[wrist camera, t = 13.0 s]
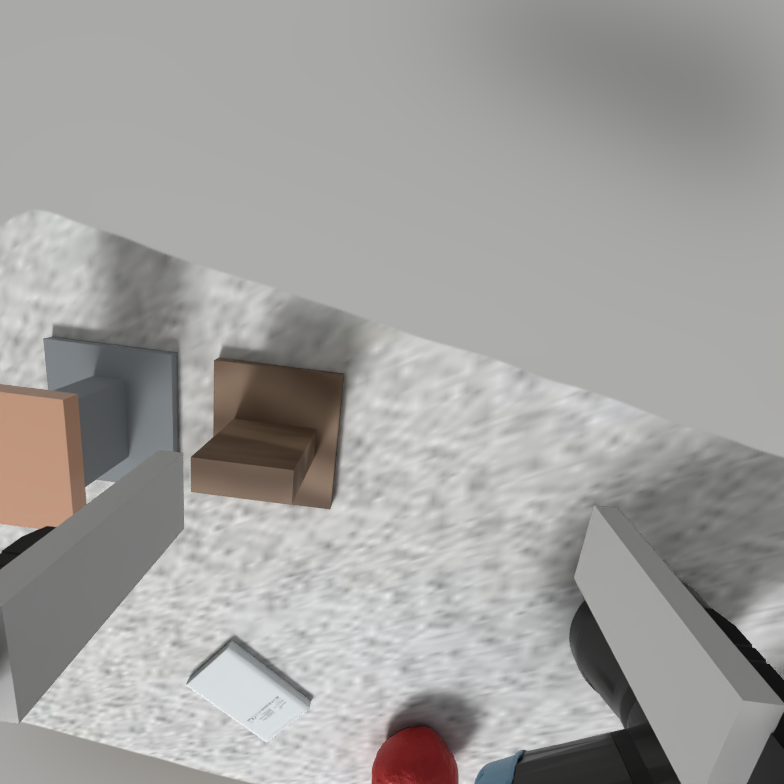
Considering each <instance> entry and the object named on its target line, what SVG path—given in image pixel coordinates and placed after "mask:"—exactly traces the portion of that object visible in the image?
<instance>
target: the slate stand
mask: <svg viewBox="0 0 784 784" xmlns="http://www.w3.org/2000/svg"><path fill="white" fill-rule="evenodd" d="M43 340H44V350H45V360H46V371H47V381H48V390H50V391H58V392H66V393H74V394H78V403H79V416H80V429H81V442H82V454H83V467H84V480H85V487H86V486H87V485H89V484H90V483H92V482H93V481H95V480H103V481H111V482H117V481H119V480H120V479H121V478H123V477H124V476H125V475H127V474H128V473H129V472H131V471H132V470H133V469H135V468H136V467H137V466H139V465H140V464H141V463H143V462H144V461H145V460H147V459H148V458H149V457H151V456H152V455H153V454H155V453H156V452H157V451H159V450H163V451H171V452H178V401H177V353H175V352H167V351H159V350H151V349H144V348H136V347H128V346H120V345H112V344H104V343H96V342H88V341H80V340H72V339H64V338H56V337H49V338H44V339H43Z"/></svg>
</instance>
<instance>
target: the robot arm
mask: <svg viewBox="0 0 784 784" xmlns="http://www.w3.org/2000/svg"><path fill="white" fill-rule="evenodd" d="M183 529H184V492H183V453H179V452H171V451H163V450H159V451H157V452H156V453H155V454H153V455H152V456H151V457H149V458H148V459H147V460H145V461H144V462H143V463H141V464H140V465H139V466H137V467H136V468H135V469H133V470H132V471H131V472H129V473H128V474H127V475H125V476H124V477H123V478H121V479H120V480H119V481H117V482H116V483H115V484H113V485H112V486H111V487H109V488H108V489H107V490H105V491H104V492H103V493H101V494H100V495H99V496H97V497H96V498H95V499H93V500H92V501H91V502H89V503H88V504H87V505H85V506H84V507H83V508H81V509H80V510H79V511H77V512H76V513H75V514H73V515H72V516H71V517H69V518H68V519H67V520H65V521H64V522H63V523H61V524H60V525H59V526H57V527H52V526H46V527H43V528H41V529H39V530H36V531H34V532H32V533H30V534H27V535H25V536H23V537H21V538H20V539H18V540H17V541H15V542H14V543H13V544H11V545H10V546H8V547H7V548H5V549H4V550H3V551H2V553H1V554H0V721H3V722H10V723H18V724H19V723H20V722H21V721H22V720H23V718H24V717H25V716H26V715H27V714H28V712H29V711H30V710H31V709H32V708H33V707H34V705H35V704H36V703H37V702H38V701H39V699H40V698H41V697H42V696H43V695H44V694H45V692H46V691H47V690H48V689H49V688H50V686H51V685H52V684H53V683H54V682H55V680H56V679H57V678H58V677H59V676H60V675H61V673H62V672H63V671H64V670H65V669H66V667H67V666H68V665H69V664H70V663H71V662H72V660H73V659H74V658H75V657H76V656H77V654H78V653H79V652H80V651H81V650H82V649H83V647H84V646H85V645H86V644H87V643H88V641H89V640H90V639H91V638H92V637H93V636H94V634H95V633H96V632H97V631H98V630H99V628H100V627H101V626H102V625H103V624H104V622H105V621H106V620H107V619H108V618H109V617H110V615H111V614H112V613H113V612H114V611H115V609H116V608H117V607H118V606H119V605H120V604H121V602H122V601H123V600H124V599H125V598H126V596H127V595H128V594H129V593H130V592H131V591H132V589H133V588H134V587H135V586H136V585H137V583H138V582H139V581H140V580H141V579H142V578H143V576H144V575H145V574H146V573H147V572H148V570H149V569H150V568H151V567H152V566H153V565H154V563H155V562H156V561H157V560H158V559H159V557H160V556H161V555H162V554H163V553H164V551H165V550H166V549H167V548H168V547H169V546H170V544H171V543H172V542H173V541H174V540H175V538H176V537H177V536H178V535H179V534H180V533H181V531H182V530H183ZM574 579H575V581H576V583H577V585H578V587H579V589H580V591H581V593H582V594H583V596H584V598H585V600H586V601H585V602H584V603H583V604H582V606H581V607H580V608H579V610H578V611H577V613H576V615H575V617H574V619H573V621H572V624H571V628H570V637H569V639H570V647H571V651H572V654H573V656H574V658H575V661H576V663H577V665H578V668H579V670H580V672H581V674H582V675H583V677H584V678H585V680H586V681H587V682H588V684H589V685H590V686H591V687H592V688H593V689H594V690H595V691H596V692H597V693H599V694H600V696H601V697H602V698H603V700H604V701H605V702H606V703H607V704H608V706H609V707H610V708H611V709H612V710H613V712H614V713H615V714H616V715H617V716H618V718H619V719H620V720H621V722H622V724H623V726H624V728H625V729H623V730H619V731H615V732H610V733H605V734H600V735H596V736H592V737H588V738H584V739H580V740H576V741H572V742H567V743H563V744H559V745H554V746H549V747H545V748H540V749H536V750H531V751H527V750H520V751H519V752H517V753H516V754H515V755H513V756H510V757H507V758H504V759H501V760H497V761H494V762H491V763H489V764H487V765H485V766H484V767H483V768H482V769H481V770H480V772H479V773H478V775H477V778H476V780H475V784H784V680H783V679H782V678H781V677H780V675H779V674H778V673H777V672H776V671H775V670H774V669H773V668H772V666H771V665H770V664H766V660H765V659H764V658H763V656H762V655H761V654H760V653H759V652H758V651H757V650H756V649H755V648H752V644H751V643H750V642H749V641H748V640H747V639H746V637H745V636H744V635H743V634H742V633H741V632H740V631H739V630H738V629H737V627H736V626H735V625H733V624H732V623H731V622H729V621H728V620H727V619H725V618H724V617H723V616H721V615H720V614H719V613H717V612H716V611H715V610H713V609H711V608H710V607H709V606H708V605H707V604H706V602H705V601H704V600H703V599H702V598H701V597H700V595H699V594H698V593H697V592H696V591H694V590H693V589H692V588H690V587H689V586H687V585H686V584H684V583H682V582H681V581H680V580H679V579H678V578H677V577H676V576H675V574H674V573H673V572H672V571H671V570H670V568H669V567H668V566H667V565H666V564H665V563H664V561H663V560H662V559H661V558H660V557H659V556H658V554H657V553H656V552H655V551H654V550H653V548H652V547H651V546H650V545H649V544H648V543H647V541H646V540H645V539H644V538H643V537H642V536H641V534H640V533H639V532H638V531H637V530H636V528H635V527H634V526H633V525H632V524H631V523H630V521H629V520H628V519H627V518H626V517H625V516H624V514H623V513H622V512H621V511H620V510H619V508H614V507H606V506H598V505H594V507H593V511H592V514H591V518H590V522H589V525H588V529H587V533H586V536H585V540H584V543H583V547H582V551H581V554H580V558H579V561H578V565H577V569H576V572H575V576H574Z"/></svg>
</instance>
